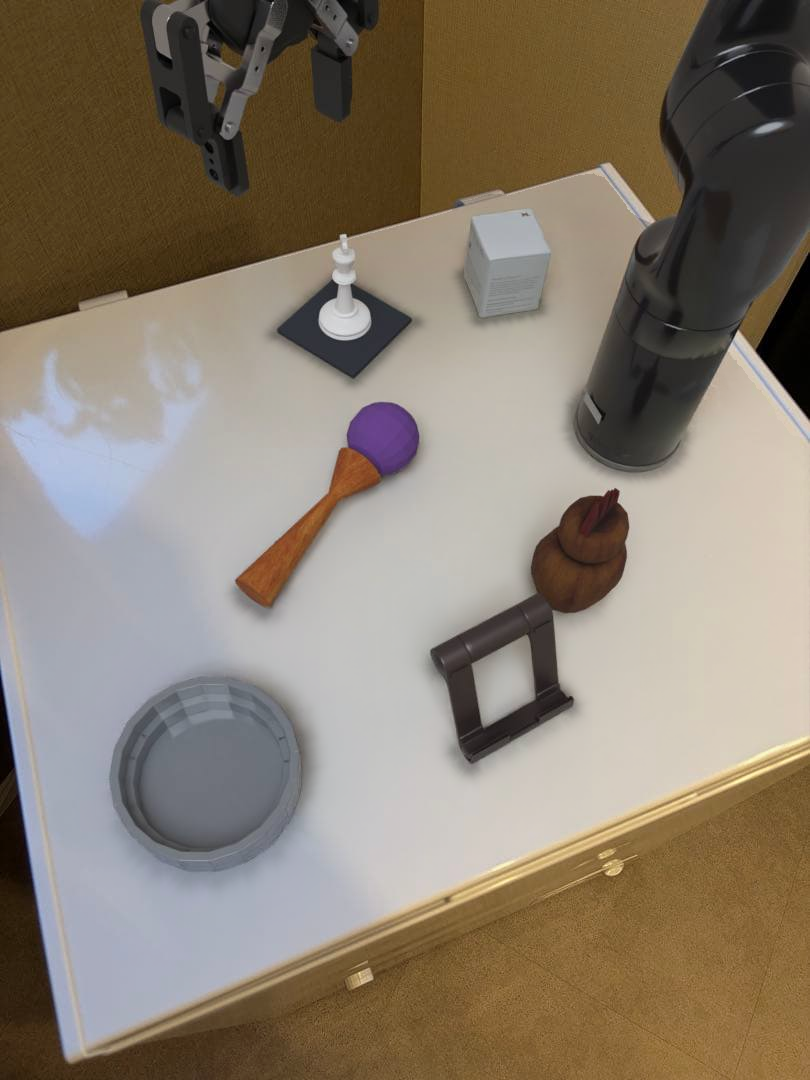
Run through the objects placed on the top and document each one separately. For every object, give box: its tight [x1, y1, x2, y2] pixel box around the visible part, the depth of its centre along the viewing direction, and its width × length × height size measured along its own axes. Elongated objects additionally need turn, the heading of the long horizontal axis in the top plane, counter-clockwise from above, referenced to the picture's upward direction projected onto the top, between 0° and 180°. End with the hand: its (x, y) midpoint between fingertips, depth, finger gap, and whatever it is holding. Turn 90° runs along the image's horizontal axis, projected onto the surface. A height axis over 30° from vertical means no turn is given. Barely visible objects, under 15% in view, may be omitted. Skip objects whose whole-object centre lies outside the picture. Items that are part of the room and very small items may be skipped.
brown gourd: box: [530, 487, 630, 614], centre depth 64 cm, size 7×6×15 cm
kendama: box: [234, 401, 420, 609], centre depth 71 cm, size 6×6×20 cm
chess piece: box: [319, 233, 371, 340], centre depth 79 cm, size 5×5×10 cm
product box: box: [463, 207, 553, 319], centre depth 84 cm, size 6×6×7 cm
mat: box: [276, 278, 413, 379], centre depth 83 cm, size 9×9×1 cm
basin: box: [108, 676, 303, 872], centre depth 60 cm, size 12×12×4 cm
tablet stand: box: [429, 593, 575, 765], centre depth 62 cm, size 9×8×8 cm
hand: (284, 150), depth 51 cm, fingers open, 8 cm apart
